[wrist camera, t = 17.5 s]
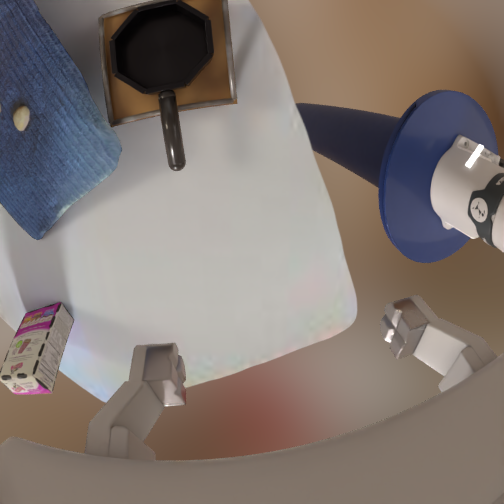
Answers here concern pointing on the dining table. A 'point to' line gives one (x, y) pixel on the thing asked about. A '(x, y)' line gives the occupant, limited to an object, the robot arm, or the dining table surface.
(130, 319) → the dining table surface
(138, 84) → the pan
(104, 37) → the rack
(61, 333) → the candy bar box
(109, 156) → the blue piece
